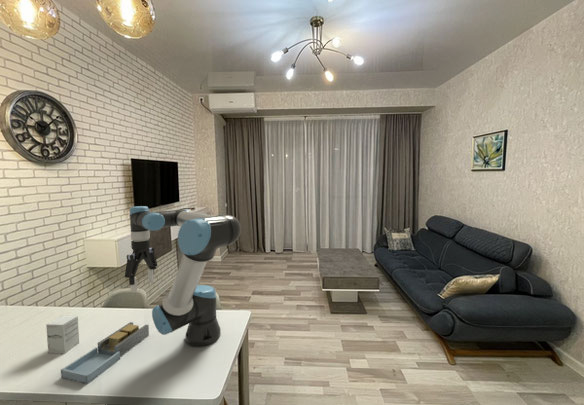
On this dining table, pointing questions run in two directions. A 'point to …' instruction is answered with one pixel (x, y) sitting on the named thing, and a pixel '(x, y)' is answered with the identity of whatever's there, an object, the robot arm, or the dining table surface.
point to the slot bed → (123, 342)
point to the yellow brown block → (117, 338)
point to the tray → (89, 366)
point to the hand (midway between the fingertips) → (142, 286)
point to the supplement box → (62, 334)
